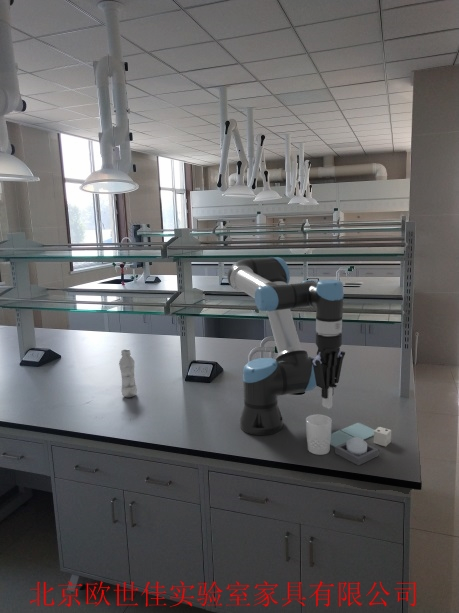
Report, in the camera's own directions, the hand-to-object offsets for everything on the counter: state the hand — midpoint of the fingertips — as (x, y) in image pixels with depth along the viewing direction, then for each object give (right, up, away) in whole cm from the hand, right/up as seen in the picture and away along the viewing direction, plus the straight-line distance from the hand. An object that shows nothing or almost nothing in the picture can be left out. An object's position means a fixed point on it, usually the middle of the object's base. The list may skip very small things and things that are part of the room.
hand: (327, 406), depth 136 cm
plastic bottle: (-72, -7, +52) cm, 89 cm away
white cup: (-2, -14, +3) cm, 15 cm away
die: (+19, -13, +5) cm, 23 cm away
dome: (+9, -14, -1) cm, 16 cm away
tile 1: (+6, -13, +8) cm, 16 cm away
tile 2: (+14, -11, +13) cm, 22 cm away
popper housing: (+9, -14, -1) cm, 17 cm away
